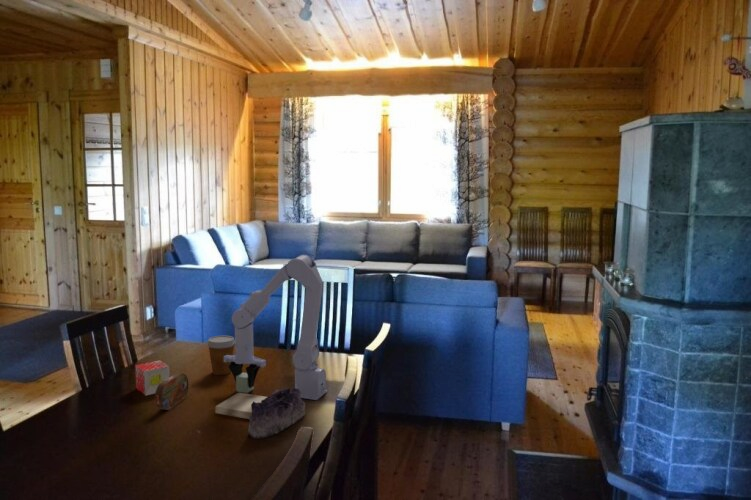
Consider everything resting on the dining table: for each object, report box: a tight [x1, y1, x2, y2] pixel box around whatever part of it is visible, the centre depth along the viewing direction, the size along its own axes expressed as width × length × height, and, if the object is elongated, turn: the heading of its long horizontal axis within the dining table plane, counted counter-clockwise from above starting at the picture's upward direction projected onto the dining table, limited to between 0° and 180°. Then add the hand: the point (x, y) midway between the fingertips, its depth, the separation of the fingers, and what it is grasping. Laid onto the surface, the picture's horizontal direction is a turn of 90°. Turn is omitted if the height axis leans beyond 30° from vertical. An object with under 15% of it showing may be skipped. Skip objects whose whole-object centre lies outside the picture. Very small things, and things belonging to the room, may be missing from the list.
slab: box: [214, 392, 268, 420], centre depth 175 cm, size 12×12×2 cm
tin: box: [154, 373, 189, 411], centre depth 178 cm, size 15×3×8 cm, turn 168°
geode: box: [247, 387, 306, 440], centre depth 164 cm, size 20×12×10 cm, turn 158°
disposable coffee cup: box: [206, 335, 235, 376], centre depth 207 cm, size 10×10×12 cm
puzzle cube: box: [135, 360, 171, 396], centre depth 190 cm, size 8×8×8 cm
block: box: [235, 372, 255, 394], centre depth 190 cm, size 4×4×5 cm
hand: (245, 385), depth 190 cm, fingers closed on block, 4 cm apart
